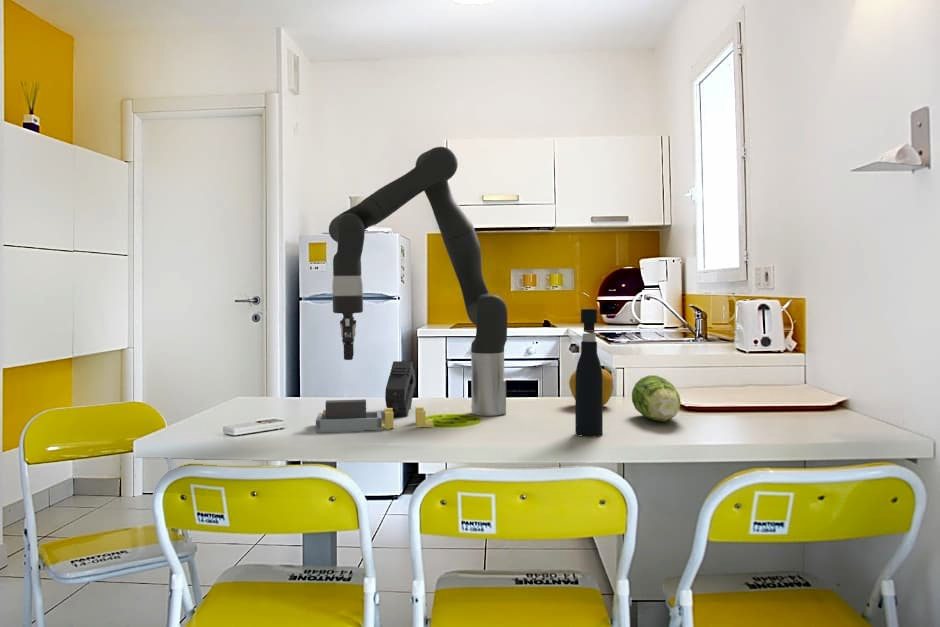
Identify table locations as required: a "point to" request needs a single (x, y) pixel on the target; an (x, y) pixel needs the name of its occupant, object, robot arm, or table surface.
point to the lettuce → (656, 398)
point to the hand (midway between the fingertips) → (348, 358)
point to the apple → (606, 385)
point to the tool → (400, 387)
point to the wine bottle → (589, 381)
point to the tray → (349, 423)
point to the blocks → (418, 413)
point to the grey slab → (345, 409)
